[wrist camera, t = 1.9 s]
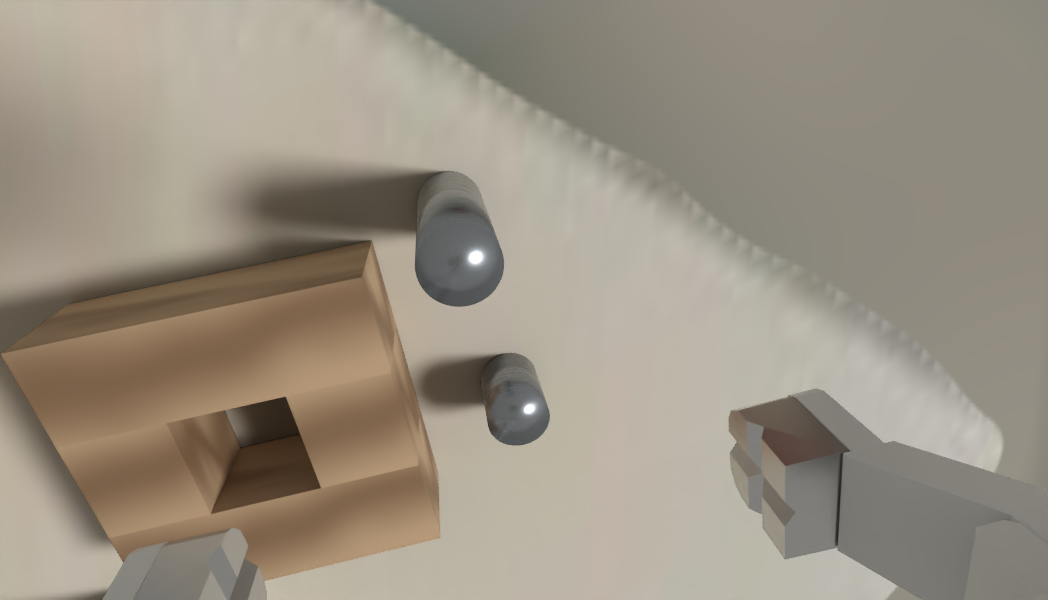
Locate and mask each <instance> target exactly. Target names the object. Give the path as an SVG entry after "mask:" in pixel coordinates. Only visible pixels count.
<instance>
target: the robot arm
mask: <svg viewBox="0 0 1048 600" xmlns="http://www.w3.org/2000/svg"><path fill="white" fill-rule="evenodd" d="M729 432H730V433H731V434H732V436H733V437H734V438H735V440H736V441H737V443H736V444H735V446H734V447H733V449H732V450H731V452H730V461H731V470H732V474H733V477H734V481H735V484H736V487H737V489H738V491H739V493H740V495H741V497H742V499H743V500H744V502H745V503H746V505H747V506H748V508H750V509H752V510H754V511H756V512H758V513H760V514H762V518H763V529H764V531H765V532H766V533H767V535H768V536H769V538H770V539H771V540H772V542H773V543H774V545H775V546H776V547H777V549H778V550H779V552H780V553H781V555H782V556H783V557H784V559H789V558H793V557H798V556H802V555H807V554H811V553H816V552H820V551H825V550H829V549H833V548H838V551H840V552H841V553H843V554H845V555H847V556H848V557H850V558H852V559H853V560H855V561H857V562H859V563H860V564H862V565H864V566H865V567H867V568H869V569H870V570H872V571H874V572H876V573H877V574H879V575H881V576H882V577H884V578H886V579H888V580H889V581H891V582H893V583H894V584H896V585H898V586H900V587H901V588H903V589H905V590H906V591H908V592H910V593H911V594H913V595H915V596H917V597H918V598H920V599H922V600H1048V490H1047V489H1044V488H1041V487H1038V486H1035V485H1031V484H1028V483H1025V482H1022V481H1019V480H1015V479H1012V478H1009V477H1006V476H1003V475H1000V474H997V473H993V472H990V471H987V470H984V469H981V468H977V467H974V466H971V465H968V464H965V463H962V462H958V461H955V460H952V459H949V458H946V457H942V456H939V455H936V454H933V453H930V452H927V451H923V450H920V449H917V448H914V447H911V446H907V445H904V444H901V443H898V442H895V441H892V442H888V443H884V442H883V441H881V440H880V439H879V438H878V437H877V436H876V435H874V434H873V433H872V432H871V431H870V430H869V429H867V428H866V427H865V426H864V425H863V424H862V423H861V422H859V421H858V420H857V419H856V418H855V417H854V416H852V415H851V414H850V413H849V412H848V411H847V410H845V409H844V408H843V407H842V406H841V405H840V404H838V403H837V402H836V401H835V400H834V399H833V398H831V397H830V396H829V395H828V394H827V393H826V392H824V391H823V390H820V389H812V390H808V391H804V392H801V393H797V394H793V395H789V396H788V397H785V398H781V399H777V400H773V401H769V402H764V403H760V404H756V405H752V406H748V407H744V408H740V409H735V410H731V412H730V416H729ZM247 548H248V544H247V542H246V540H245V538H244V536H243V534H242V532H241V530H239V529H236V528H228V529H223V530H218V531H214V532H209V533H204V534H200V535H195V536H190V537H186V538H181V539H176V540H171V541H169V542H164V543H159V544H155V545H150V546H146V547H141V548H138V549H136V550H135V551H133V552H132V553H130V554H129V555H128V556H127V558H126V560H125V562H124V563H123V565H122V567H121V568H120V570H119V572H118V574H117V575H116V577H115V579H114V580H113V582H112V584H111V585H110V587H109V589H108V591H107V592H106V594H105V596H104V597H103V599H102V600H267V591H266V587H265V583H264V578H263V576H262V574H261V571H260V569H259V567H258V566H257V565H255V564H253V563H251V562H250V561H248V560H246V559H244V557H245V554H246V551H247Z"/></svg>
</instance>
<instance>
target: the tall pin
mask: <svg viewBox="0 0 1048 600" xmlns="http://www.w3.org/2000/svg"><path fill="white" fill-rule="evenodd" d="M503 269H504V259H503V254H502V250H501V248H500V245H499V242H498V240H497V237H496V234H495V232H494V229H493V226H492V224H491V221H490V218H489V216H488V213H487V210H486V208H485V205H484V202H483V200H482V197H481V194H480V192H479V189H478V187H477V186H476V184H475V183H474V182H473V181H472V180H471V179H470V178H468V177H467V176H465V175H463V174H461V173H458V172H452V171H446V172H441V173H438V174H435V175H434V176H432V177H430V178H429V179H428V180H427V181H426V182H425V183H424V185H423V186H422V188H421V190H420V192H419V196H418V208H417V231H416V254H415V271H416V276H417V279H418V281H419V283H420V285H421V287H422V288H423V290H424V291H425V292H426V293H427V294H428V295H429V296H430V297H432V298H433V299H435V300H436V301H438V302H440V303H443V304H446V305H450V306H469V305H472V304H475V303H478V302H480V301H482V300H484V299H485V298H487V297H488V296H489V295H490V294H491V293H492V292H493V291H494V290H495V289H496V287H497V286H498V284H499V282H500V280H501V278H502V274H503Z"/></svg>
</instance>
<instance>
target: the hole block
mask: <svg viewBox="0 0 1048 600" xmlns="http://www.w3.org/2000/svg"><path fill="white" fill-rule="evenodd" d="M1 356H2V358H3V359H4V361H5V363H6V364H7V366H8V368H9V370H10V371H11V373H12V375H13V376H14V378H15V380H16V381H17V383H18V385H19V386H20V388H21V390H22V392H23V393H24V395H25V397H26V398H27V400H28V402H29V403H30V405H31V407H32V409H33V410H34V412H35V414H36V415H37V417H38V419H39V420H40V422H41V424H42V425H43V427H44V429H45V431H46V432H47V434H48V436H49V437H50V439H51V441H52V442H53V444H54V446H55V448H56V449H57V451H58V453H59V454H60V456H61V458H62V459H63V461H64V463H65V464H66V466H67V468H68V470H69V471H70V473H71V475H72V476H73V478H74V480H75V481H76V483H77V485H78V487H79V488H80V490H81V492H82V493H83V495H84V497H85V498H86V500H87V502H88V503H89V505H90V507H91V509H92V510H93V512H94V514H95V515H96V517H97V519H98V520H99V522H100V524H101V526H102V527H103V529H104V531H105V532H106V534H107V536H108V537H109V539H110V541H111V542H112V544H113V546H114V548H115V549H116V551H117V553H118V554H119V556H120V558H121V559H122V561H123V563H124V562H125V560H126V558H127V556H128V555H129V554H130V553H132V552H133V551H135V550H136V549H138V548H141V547H146V546H150V545H155V544H159V543H164V542H169V541H171V540H176V539H181V538H186V537H190V536H195V535H200V534H204V533H209V532H214V531H218V530H223V529H228V528H236V529H239V530H241V532H242V534H243V536H244V538H245V540H246V542H247V544H248V548H247V551H246V554H245V557H244V559H246V560H248V561H250V562H251V563H253V564H255V565H257V566H258V567H259V569H260V571H261V574H262V576H263V578H264V581H266V580H270V579H274V578H278V577H282V576H286V575H290V574H294V573H299V572H303V571H307V570H311V569H315V568H319V567H323V566H327V565H331V564H335V563H340V562H344V561H348V560H352V559H356V558H360V557H364V556H368V555H372V554H376V553H380V552H385V551H389V550H393V549H397V548H401V547H405V546H409V545H413V544H417V543H421V542H426V541H430V540H434V539H438V538H440V517H439V486H438V471H437V468H436V464H435V461H434V457H433V454H432V450H431V447H430V443H429V440H428V436H427V433H426V429H425V426H424V422H423V419H422V415H421V412H420V408H419V405H418V401H417V398H416V394H415V391H414V387H413V384H412V380H411V377H410V373H409V370H408V366H407V363H406V359H405V356H404V352H403V349H402V345H401V342H400V338H399V335H398V331H397V328H396V324H395V321H394V317H393V314H392V310H391V307H390V303H389V300H388V296H387V293H386V289H385V286H384V282H383V279H382V275H381V272H380V268H379V265H378V261H377V258H376V254H375V251H374V247H373V244H372V241H368V242H363V243H358V244H354V245H349V246H344V247H339V248H334V249H330V250H325V251H320V252H315V253H310V254H306V255H301V256H296V257H291V258H286V259H282V260H277V261H272V262H267V263H262V264H258V265H253V266H248V267H243V268H238V269H234V270H229V271H224V272H219V273H215V274H210V275H205V276H200V277H195V278H191V279H186V280H181V281H176V282H171V283H167V284H162V285H157V286H152V287H147V288H143V289H138V290H133V291H128V292H123V293H119V294H114V295H109V296H104V297H100V298H95V299H90V300H85V301H80V302H76V303H71V304H68V305H67V306H65V307H64V308H63V309H61V310H60V311H59V312H57V313H56V314H54V315H53V316H52V317H50V318H49V319H48V320H46V321H45V322H43V323H42V324H41V325H39V326H38V327H37V328H35V329H34V330H32V331H31V332H30V333H28V334H27V335H26V336H24V337H23V338H21V339H20V340H19V341H17V342H16V343H15V344H13V345H12V346H11V347H9V348H8V349H6V350H5V351H4V352H2V353H1ZM281 397H286V398H287V401H288V404H289V406H290V409H291V411H292V414H293V417H294V419H295V422H296V424H297V427H298V429H299V432H300V434H299V435H295V436H291V437H286V438H282V439H277V440H273V441H269V442H264V443H260V444H256V445H251V446H247V447H243V448H241V447H240V445H239V442H238V440H237V438H236V436H235V433H234V431H233V429H232V426H231V424H230V422H229V420H228V417H227V415H226V413H225V410H228V409H232V408H237V407H241V406H246V405H250V404H255V403H259V402H264V401H268V400H273V399H277V398H281Z"/></svg>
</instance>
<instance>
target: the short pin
mask: <svg viewBox="0 0 1048 600" xmlns="http://www.w3.org/2000/svg"><path fill="white" fill-rule="evenodd" d="M481 386H482V392H483V398H484V404H485V410H486V416H487V422H488V427H489V430H490V432H491V434H492V435H493V436H494V437H495V438H496V439H497V440H498V441H500V442H502V443H505V444H508V445H524V444H527V443H530V442H532V441H534V440H536V439H537V438H539V437H540V436H541V435H542V434H543V433H544V431H545V430H546V428H547V426H548V423H549V418H550V414H549V409H548V406H547V403H546V400H545V397H544V395H543V392H542V389H541V386H540V383H539V380H538V377H537V374H536V371H535V368H534V366H533V364H532V363H531V362H530V361H529V360H528V359H527V358H526V357H524V356H522V355H519V354H515V353H506V354H501V355H498V356H496V357H494V358H493V359H491V360H490V361H489V362H488V363H487V364H486V365H485V367H484V369H483V371H482V374H481Z"/></svg>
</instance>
